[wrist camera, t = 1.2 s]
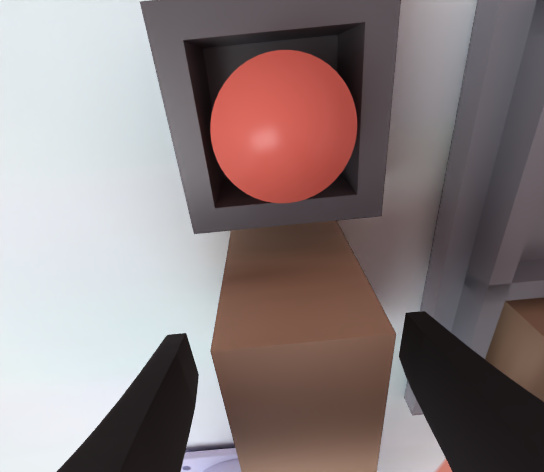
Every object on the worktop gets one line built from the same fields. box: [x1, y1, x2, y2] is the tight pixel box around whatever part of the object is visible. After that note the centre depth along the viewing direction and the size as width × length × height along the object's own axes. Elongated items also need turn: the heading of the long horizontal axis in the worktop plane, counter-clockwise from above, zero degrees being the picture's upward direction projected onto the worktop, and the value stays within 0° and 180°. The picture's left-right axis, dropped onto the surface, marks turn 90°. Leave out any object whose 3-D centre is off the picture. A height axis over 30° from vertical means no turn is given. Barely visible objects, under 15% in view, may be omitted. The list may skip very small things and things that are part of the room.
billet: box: [211, 221, 396, 472], centre depth 11 cm, size 6×4×6 cm, turn 5°
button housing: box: [140, 0, 401, 234], centre depth 9 cm, size 5×5×3 cm
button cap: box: [210, 50, 357, 203], centre depth 7 cm, size 3×3×2 cm
